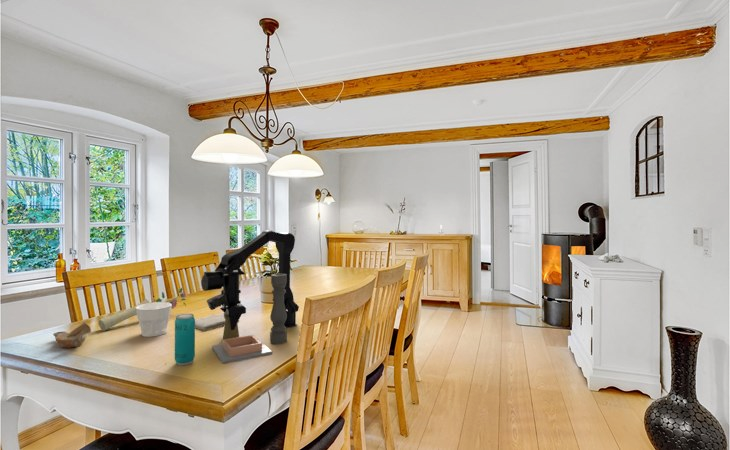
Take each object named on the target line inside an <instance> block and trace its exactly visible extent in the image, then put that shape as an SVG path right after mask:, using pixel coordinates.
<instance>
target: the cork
mask: <svg viewBox="0 0 730 450" xmlns="http://www.w3.org/2000/svg"><path fill="white" fill-rule="evenodd" d="M223 313H224V318H225V325H224V326H223V335H222V340H224V339H230V338H236V337H240V332H239V326H238V325H239V324H238V323H237V325H236V327H235V329H234V330H231V327H230V321H229V316H227V315H226V314H225V313H226V311H225V312H223Z"/></svg>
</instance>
